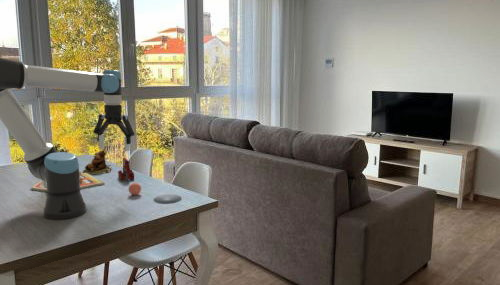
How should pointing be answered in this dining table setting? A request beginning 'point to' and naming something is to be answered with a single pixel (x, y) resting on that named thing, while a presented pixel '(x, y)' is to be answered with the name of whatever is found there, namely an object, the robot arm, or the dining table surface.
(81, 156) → the dining table surface
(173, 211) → the dining table surface
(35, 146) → the robot arm
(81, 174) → the knob puzzle
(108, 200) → the dining table surface
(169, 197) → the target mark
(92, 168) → the bear figurine
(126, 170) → the toy fire truck
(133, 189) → the ball
